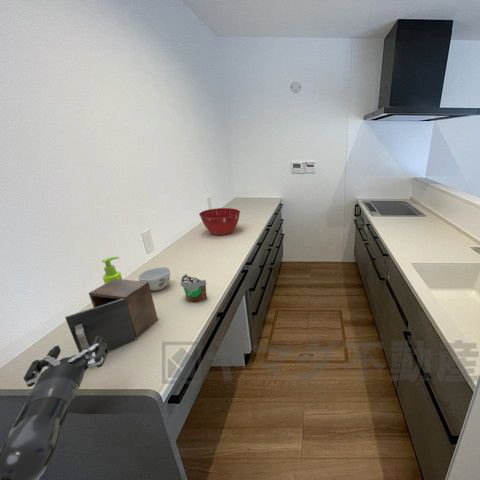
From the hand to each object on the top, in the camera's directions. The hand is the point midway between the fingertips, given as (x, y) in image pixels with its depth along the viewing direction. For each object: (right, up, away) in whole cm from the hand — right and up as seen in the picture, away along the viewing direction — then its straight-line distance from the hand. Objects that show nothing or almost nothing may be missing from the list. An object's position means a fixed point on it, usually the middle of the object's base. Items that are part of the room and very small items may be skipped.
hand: (79, 343), depth 70 cm
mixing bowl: (-10, +33, +129) cm, 133 cm away
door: (-3, -10, +15) cm, 18 cm away
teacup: (-12, +4, +52) cm, 54 cm away
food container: (+9, +1, +45) cm, 46 cm away
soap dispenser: (-22, +1, +43) cm, 48 cm away
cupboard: (-6, -5, +28) cm, 29 cm away
